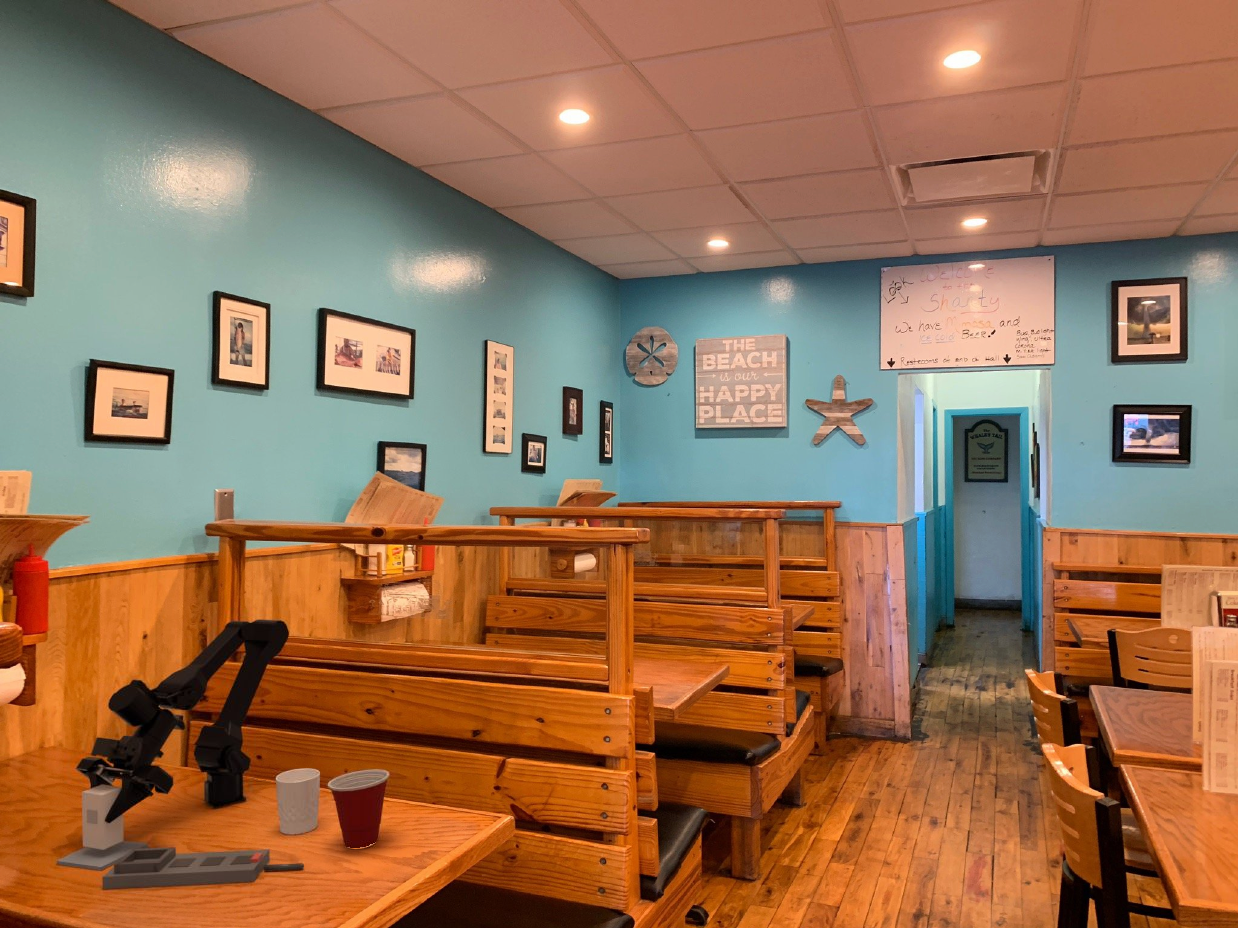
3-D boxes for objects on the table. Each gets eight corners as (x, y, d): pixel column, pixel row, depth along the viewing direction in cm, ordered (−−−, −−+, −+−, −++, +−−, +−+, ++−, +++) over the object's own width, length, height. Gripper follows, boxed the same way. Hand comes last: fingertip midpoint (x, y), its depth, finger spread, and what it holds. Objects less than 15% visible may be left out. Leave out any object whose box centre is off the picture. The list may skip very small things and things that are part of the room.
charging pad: (105, 841, 165) (105, 837, 165) (148, 846, 162) (148, 843, 162) (56, 863, 155) (56, 860, 155) (101, 870, 152) (101, 866, 152)
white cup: (329, 822, 172) (328, 770, 172) (302, 838, 164) (301, 783, 164) (295, 818, 174) (294, 766, 174) (267, 833, 167) (266, 779, 167)
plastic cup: (353, 828, 169) (352, 764, 169) (402, 834, 165) (401, 769, 165) (315, 851, 158) (314, 783, 158) (367, 858, 155) (366, 789, 155)
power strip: (102, 889, 145) (102, 867, 145) (126, 867, 153) (126, 847, 153) (297, 879, 147) (296, 858, 147) (310, 858, 155) (310, 838, 155)
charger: (103, 836, 161) (102, 784, 162) (123, 840, 160) (122, 787, 160) (82, 846, 158) (81, 792, 158) (102, 849, 156) (101, 795, 156)
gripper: (84, 713, 166) (27, 793, 156) (158, 721, 159) (103, 805, 149) (122, 743, 173) (70, 821, 163) (195, 752, 166) (145, 834, 156)
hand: (95, 820), depth 157 cm, fingers closed on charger, 5 cm apart
